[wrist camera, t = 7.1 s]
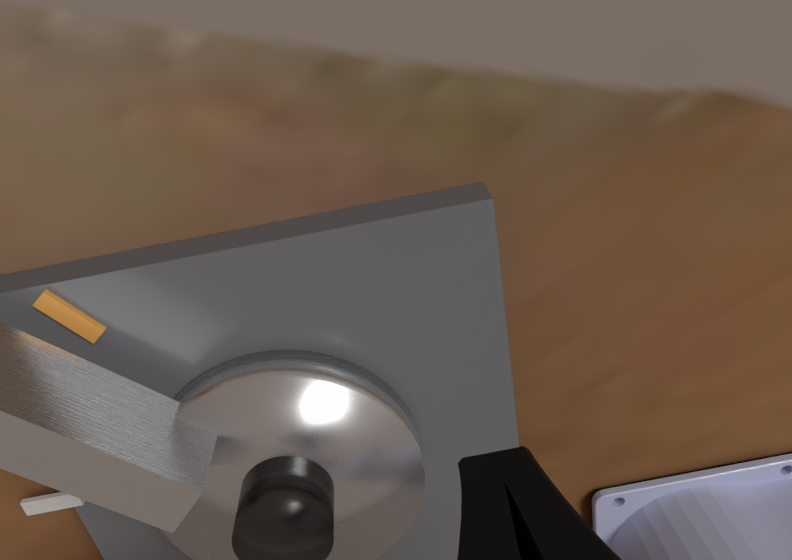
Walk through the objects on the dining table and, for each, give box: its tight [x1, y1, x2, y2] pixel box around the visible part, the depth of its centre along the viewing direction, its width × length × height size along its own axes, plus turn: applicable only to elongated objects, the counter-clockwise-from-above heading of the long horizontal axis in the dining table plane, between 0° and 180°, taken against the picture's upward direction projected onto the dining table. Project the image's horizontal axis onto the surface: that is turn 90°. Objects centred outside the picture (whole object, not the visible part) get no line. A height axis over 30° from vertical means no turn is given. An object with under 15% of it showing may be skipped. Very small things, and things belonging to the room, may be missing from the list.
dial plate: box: [0, 182, 519, 560], centre depth 22 cm, size 16×18×2 cm
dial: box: [0, 322, 425, 560], centre depth 19 cm, size 16×9×4 cm, turn 55°
